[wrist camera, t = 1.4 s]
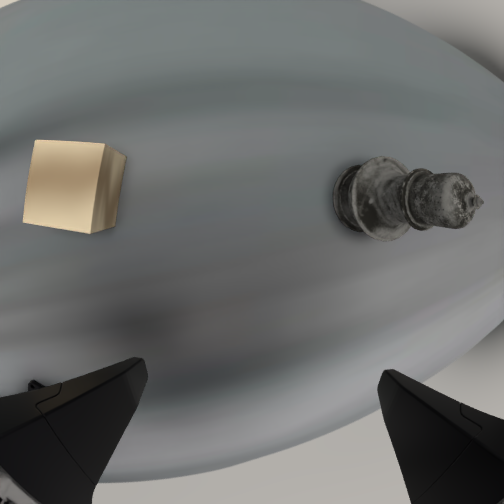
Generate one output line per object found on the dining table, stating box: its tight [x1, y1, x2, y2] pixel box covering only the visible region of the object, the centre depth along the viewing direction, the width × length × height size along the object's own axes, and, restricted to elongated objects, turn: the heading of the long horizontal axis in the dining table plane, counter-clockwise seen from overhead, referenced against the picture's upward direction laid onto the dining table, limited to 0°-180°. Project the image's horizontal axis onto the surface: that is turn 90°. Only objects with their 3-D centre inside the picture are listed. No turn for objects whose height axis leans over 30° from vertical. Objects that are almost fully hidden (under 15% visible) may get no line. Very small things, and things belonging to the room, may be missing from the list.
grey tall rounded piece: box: [333, 156, 484, 241], centre depth 16 cm, size 6×6×12 cm
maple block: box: [23, 140, 127, 234], centre depth 16 cm, size 5×5×5 cm
